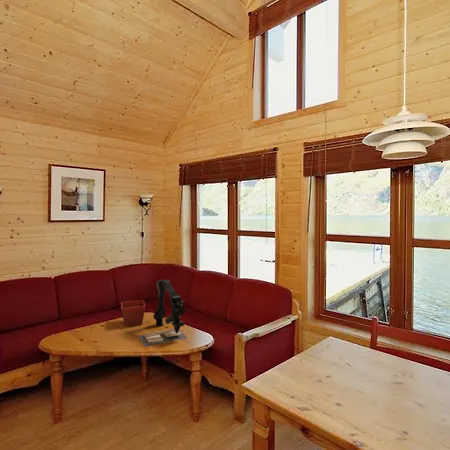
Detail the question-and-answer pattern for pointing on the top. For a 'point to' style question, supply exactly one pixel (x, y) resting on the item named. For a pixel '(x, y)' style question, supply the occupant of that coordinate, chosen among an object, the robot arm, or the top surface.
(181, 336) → the underlay
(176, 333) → the beige flat square block
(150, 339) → the light beige plank
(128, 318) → the plant pot
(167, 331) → the light brown plank
